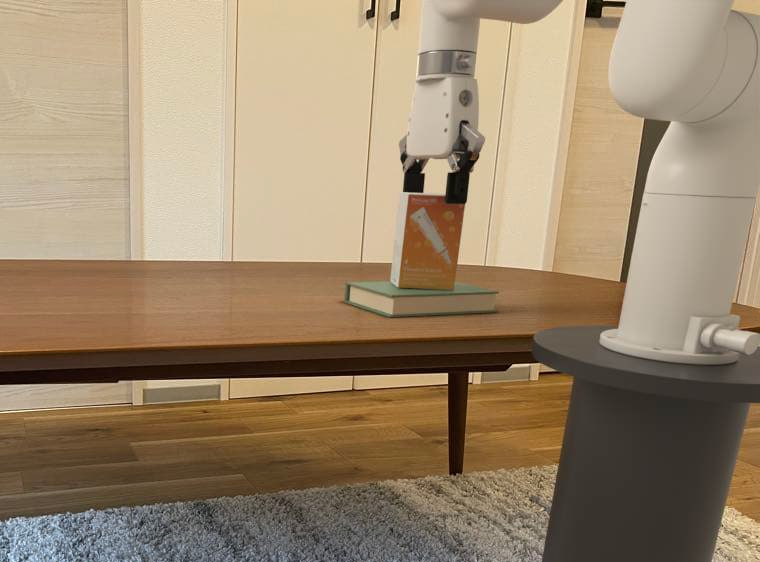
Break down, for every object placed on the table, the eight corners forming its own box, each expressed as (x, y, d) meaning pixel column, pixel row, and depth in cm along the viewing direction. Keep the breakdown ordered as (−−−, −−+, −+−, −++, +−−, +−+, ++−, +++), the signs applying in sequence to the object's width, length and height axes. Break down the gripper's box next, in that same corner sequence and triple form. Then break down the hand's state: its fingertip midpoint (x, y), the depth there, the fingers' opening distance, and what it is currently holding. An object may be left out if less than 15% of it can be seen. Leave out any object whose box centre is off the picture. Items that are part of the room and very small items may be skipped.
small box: (397, 289, 109) (407, 193, 105) (389, 282, 115) (398, 191, 111) (455, 291, 109) (467, 195, 105) (444, 284, 115) (455, 193, 111)
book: (496, 312, 111) (499, 291, 110) (389, 317, 104) (392, 295, 104) (443, 298, 122) (445, 279, 121) (344, 302, 115) (345, 282, 114)
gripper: (513, 64, 97) (497, 205, 102) (429, 79, 113) (418, 201, 117) (465, 59, 94) (450, 204, 99) (385, 75, 110) (375, 200, 115)
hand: (433, 202), depth 108 cm, fingers open, 9 cm apart
